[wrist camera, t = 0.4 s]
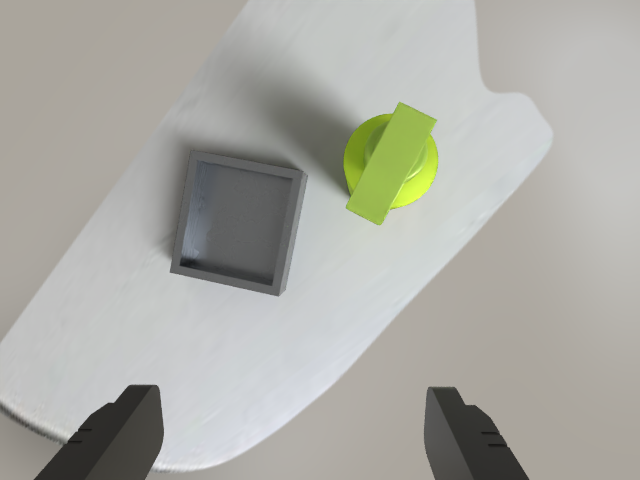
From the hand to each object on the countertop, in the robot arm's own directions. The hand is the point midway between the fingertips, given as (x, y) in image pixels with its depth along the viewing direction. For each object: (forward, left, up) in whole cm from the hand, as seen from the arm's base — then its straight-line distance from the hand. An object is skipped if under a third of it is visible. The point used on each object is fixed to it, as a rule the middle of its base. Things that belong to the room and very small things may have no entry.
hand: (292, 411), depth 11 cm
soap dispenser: (-9, +2, -27) cm, 28 cm away
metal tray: (-3, -10, -27) cm, 29 cm away
